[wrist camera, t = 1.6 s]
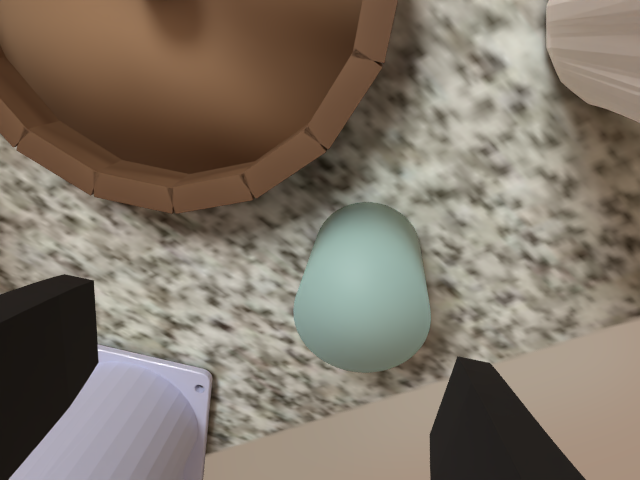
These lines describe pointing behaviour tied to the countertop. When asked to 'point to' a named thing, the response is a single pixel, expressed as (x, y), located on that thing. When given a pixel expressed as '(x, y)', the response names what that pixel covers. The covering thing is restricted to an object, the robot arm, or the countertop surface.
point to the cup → (597, 51)
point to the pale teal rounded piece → (364, 290)
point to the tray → (184, 91)
